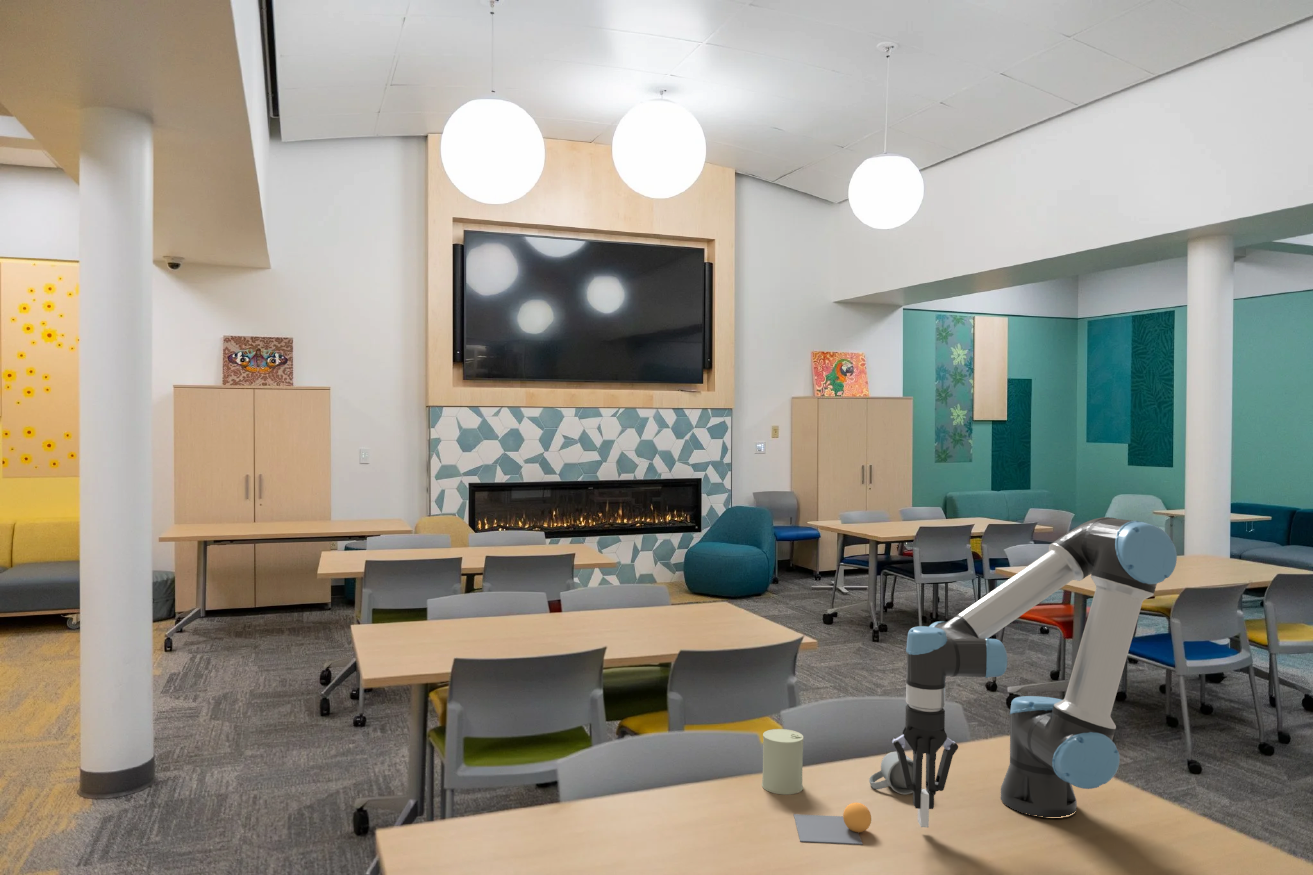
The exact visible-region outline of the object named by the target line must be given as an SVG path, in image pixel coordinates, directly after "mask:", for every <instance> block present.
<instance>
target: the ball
mask: <svg viewBox="0 0 1313 875" xmlns="http://www.w3.org/2000/svg"><path fill="white" fill-rule="evenodd" d="M842 816H843V819H844V822H845V824H846V826H847V827H848V828H849V829H850V830H852V831H854V832H858V833H863V832H866V831H867V830H868V829H869V827H871V823H872V814H871V811H870V810H869V809H868V807H867V805H865V804H863V803H861V802H852V803H850V804H847V805H846V807H845V808H844V810H843V814H842Z"/></svg>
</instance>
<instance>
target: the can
mask: <svg viewBox="0 0 1313 875" xmlns="http://www.w3.org/2000/svg"><path fill="white" fill-rule="evenodd" d="M762 739H763V740H762V745H763V746H762V748H763V749H762V781H761V787H762V788H763V789H764V790H765V791H767V792H770V793H772V794H776V795H784V796H785V795H787V796H788V795H795V794H799V793H801V792H802V790H803V789H804V786H803V763H804V762H803V758H804V740H805V738H804V735H803V734H802V733H800V732H798V731H795V730H792V729H786V728H773V729H768V730H766V731H765V730H764V732H763V733H762Z"/></svg>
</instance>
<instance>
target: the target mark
mask: <svg viewBox="0 0 1313 875" xmlns="http://www.w3.org/2000/svg"><path fill="white" fill-rule="evenodd" d="M793 817H794V821H795V826H796V830H797V833H798V838H799V842H800V843H801V842H802V843H820V844H824V843H825V844H841V845H842V844H844V845H863V842H862V838H861V836H860V834H859V833H860V832H854V831H852V830H850V829H849V828H848V827H847V826H846V824H845V822H844V819H843V815H842V816H840V815H823V814H822V815H821V814H820V815H819V814H799V813H793Z"/></svg>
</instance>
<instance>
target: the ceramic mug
mask: <svg viewBox="0 0 1313 875" xmlns="http://www.w3.org/2000/svg"><path fill="white" fill-rule="evenodd" d="M906 759H907V764H908V768H909V773H910V777H911V781H912V782H913V759H911V758H910V757H909V756H908V755H906ZM882 778H884V780H880V779H882ZM878 780H880V781H878ZM868 782H869V784H870V787H871V788H872V789H874V790H882V789H885V788H888V787H890V788H891V789H892V790H893V791H894V792H896V793H897V794H899V795H900V794H901V795H910V794H913V790H908V789H907V788H906V786H905V784H904V782H903V777H902V773H901V768H900V764H899V759H898V755H897V751H891V752H888V753H886V755H884V756H883V758H882V760H881V762H880V770H879V771H877V772H875V773H873V774H871V776H870V777H869V778H868Z"/></svg>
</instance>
